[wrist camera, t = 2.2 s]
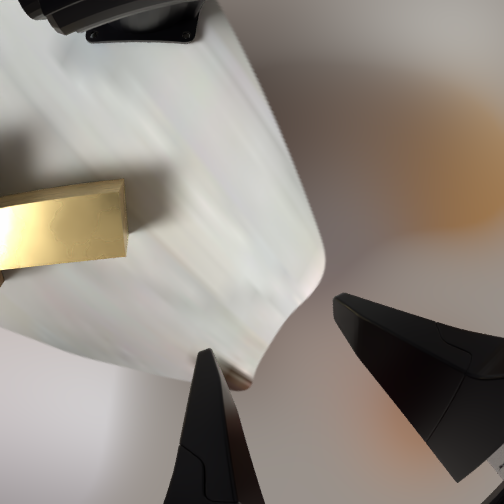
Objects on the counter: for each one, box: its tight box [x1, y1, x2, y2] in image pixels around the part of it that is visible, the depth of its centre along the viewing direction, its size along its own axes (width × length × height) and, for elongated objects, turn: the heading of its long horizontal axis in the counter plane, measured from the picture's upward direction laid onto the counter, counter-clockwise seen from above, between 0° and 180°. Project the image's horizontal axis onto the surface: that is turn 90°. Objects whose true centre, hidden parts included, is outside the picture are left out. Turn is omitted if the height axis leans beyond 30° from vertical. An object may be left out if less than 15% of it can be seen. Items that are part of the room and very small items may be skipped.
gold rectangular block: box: [0, 179, 129, 270], centre depth 14 cm, size 12×4×4 cm, turn 87°
